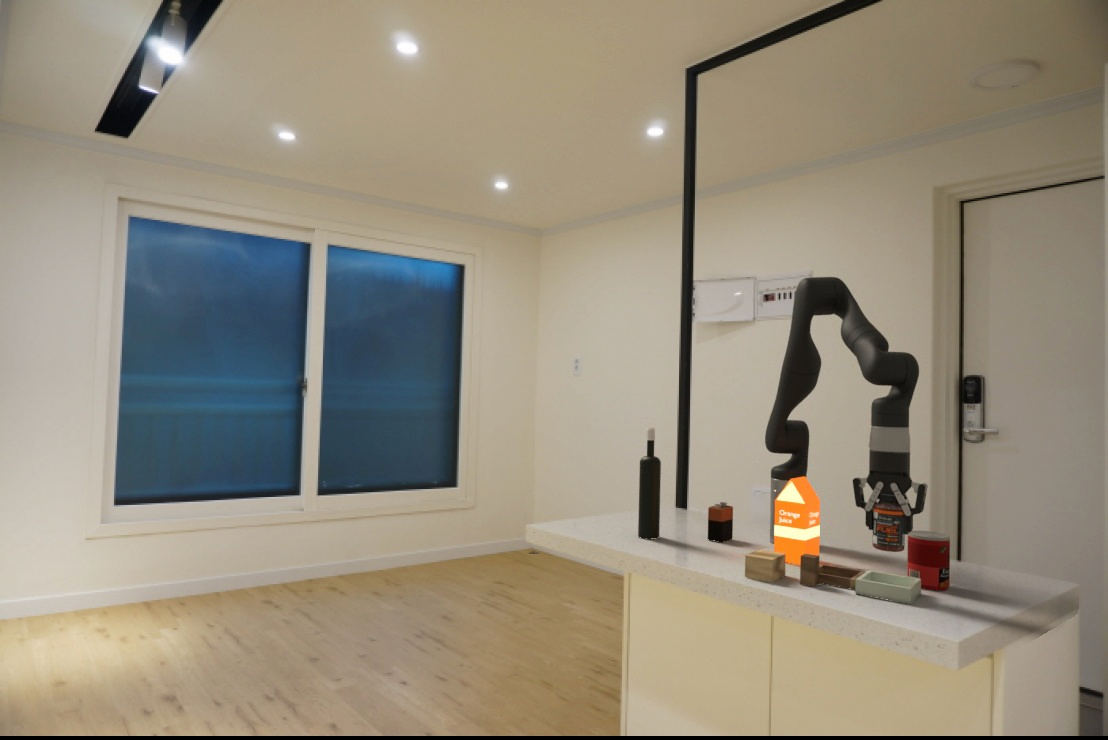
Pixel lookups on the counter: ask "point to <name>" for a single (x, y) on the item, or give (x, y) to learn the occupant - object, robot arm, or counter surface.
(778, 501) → the orange juice
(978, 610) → the counter surface
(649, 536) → the wine bottle
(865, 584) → the tray
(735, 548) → the counter surface
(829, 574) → the frame
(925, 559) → the canned food
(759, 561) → the natural wood cube
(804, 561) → the post
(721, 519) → the battery
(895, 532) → the supplement bottle
